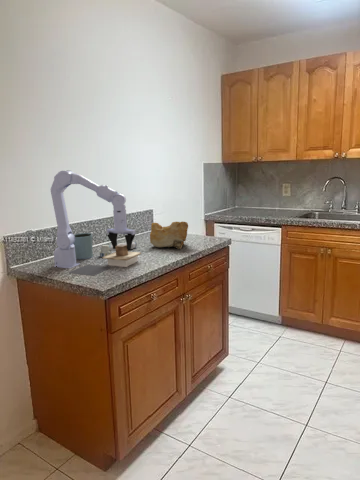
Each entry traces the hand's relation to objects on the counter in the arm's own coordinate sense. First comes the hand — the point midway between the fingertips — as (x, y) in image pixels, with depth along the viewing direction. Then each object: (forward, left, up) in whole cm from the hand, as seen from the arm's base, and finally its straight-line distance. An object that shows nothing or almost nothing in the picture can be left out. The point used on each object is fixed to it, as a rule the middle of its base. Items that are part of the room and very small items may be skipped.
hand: (122, 249), depth 170 cm
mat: (-8, -14, -7) cm, 18 cm away
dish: (0, 0, -7) cm, 7 cm away
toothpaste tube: (-15, +20, -8) cm, 26 cm away
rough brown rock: (+7, +41, -8) cm, 42 cm away
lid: (0, 0, -3) cm, 3 cm away
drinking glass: (-26, +4, -8) cm, 27 cm away
